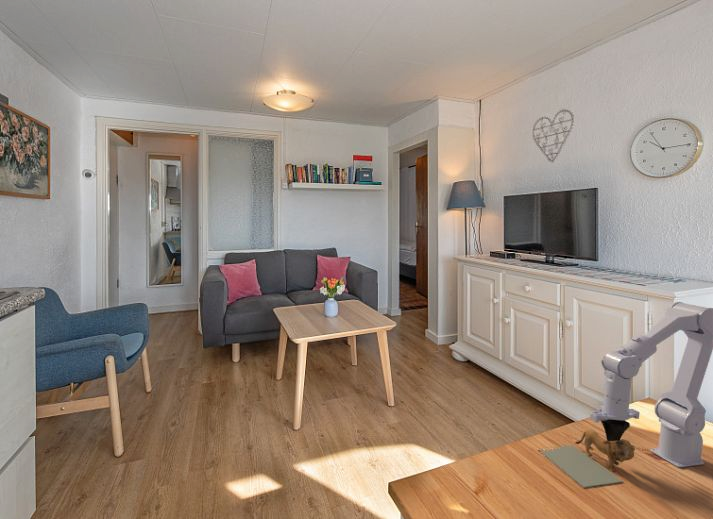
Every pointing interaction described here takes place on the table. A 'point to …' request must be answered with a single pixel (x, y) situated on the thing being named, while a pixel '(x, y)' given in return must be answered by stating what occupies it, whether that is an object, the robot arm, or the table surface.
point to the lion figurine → (609, 448)
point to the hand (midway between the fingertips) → (612, 444)
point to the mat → (580, 467)
